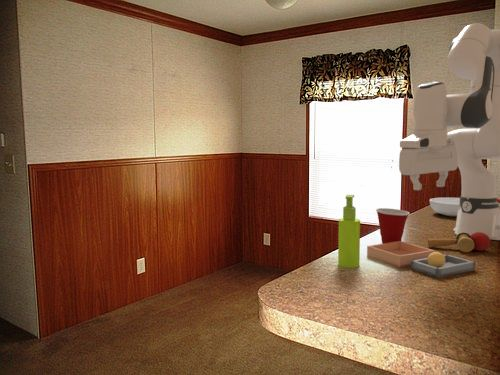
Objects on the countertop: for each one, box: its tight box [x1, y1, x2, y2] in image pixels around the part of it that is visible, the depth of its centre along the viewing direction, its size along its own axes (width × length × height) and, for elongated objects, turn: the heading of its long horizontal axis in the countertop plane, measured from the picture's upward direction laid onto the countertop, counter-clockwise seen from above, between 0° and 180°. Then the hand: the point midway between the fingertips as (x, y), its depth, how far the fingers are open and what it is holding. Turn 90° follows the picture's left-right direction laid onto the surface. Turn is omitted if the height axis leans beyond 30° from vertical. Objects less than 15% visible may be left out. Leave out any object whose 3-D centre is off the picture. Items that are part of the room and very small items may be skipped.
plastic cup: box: [375, 207, 411, 244], centre depth 144 cm, size 11×11×12 cm
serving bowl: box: [429, 197, 461, 218], centre depth 199 cm, size 21×21×7 cm
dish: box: [366, 240, 436, 268], centre depth 128 cm, size 13×13×3 cm
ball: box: [428, 251, 445, 268], centre depth 116 cm, size 4×4×4 cm
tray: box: [410, 253, 476, 279], centre depth 117 cm, size 14×9×2 cm, turn 116°
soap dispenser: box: [337, 194, 361, 269], centre depth 122 cm, size 6×7×20 cm
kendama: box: [427, 232, 491, 253], centre depth 138 cm, size 8×6×18 cm
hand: (429, 188), depth 124 cm, fingers open, 8 cm apart
